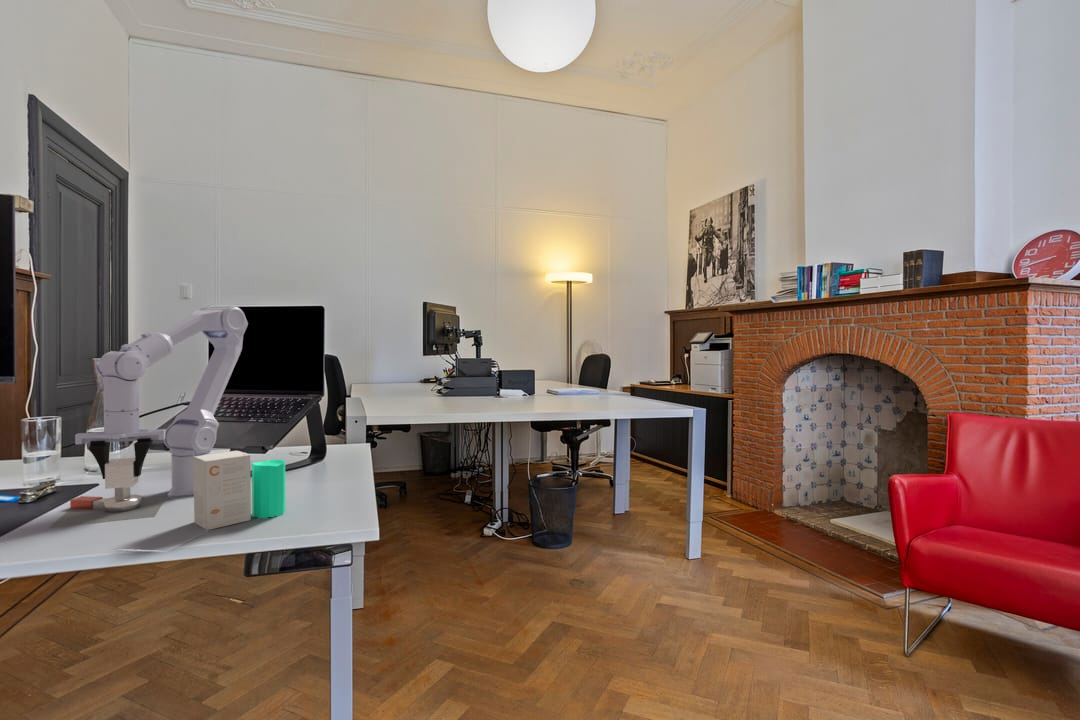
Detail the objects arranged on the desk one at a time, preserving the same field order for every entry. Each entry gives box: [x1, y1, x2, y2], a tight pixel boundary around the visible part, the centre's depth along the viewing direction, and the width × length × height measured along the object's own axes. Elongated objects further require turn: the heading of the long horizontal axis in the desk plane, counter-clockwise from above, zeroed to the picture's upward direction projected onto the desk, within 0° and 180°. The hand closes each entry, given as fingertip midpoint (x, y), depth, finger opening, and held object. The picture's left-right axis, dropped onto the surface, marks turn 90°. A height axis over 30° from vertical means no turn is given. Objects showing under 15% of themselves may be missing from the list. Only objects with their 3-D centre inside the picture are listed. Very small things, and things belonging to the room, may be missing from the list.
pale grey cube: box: [104, 457, 139, 490], centre depth 111 cm, size 5×5×5 cm
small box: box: [193, 450, 252, 531], centre depth 105 cm, size 8×6×13 cm
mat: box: [48, 495, 168, 529], centre depth 111 cm, size 16×16×1 cm
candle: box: [251, 454, 286, 519], centre depth 111 cm, size 6×6×12 cm
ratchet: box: [69, 487, 142, 513], centre depth 112 cm, size 13×6×5 cm, turn 87°
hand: (122, 476), depth 112 cm, fingers closed on pale grey cube, 5 cm apart
